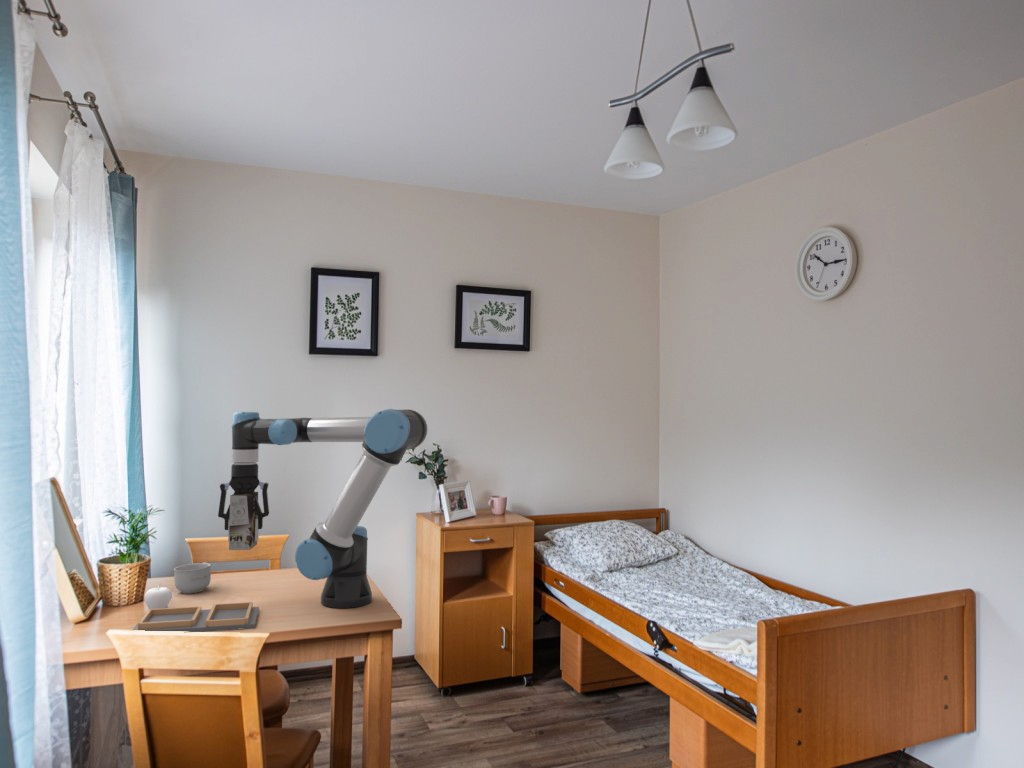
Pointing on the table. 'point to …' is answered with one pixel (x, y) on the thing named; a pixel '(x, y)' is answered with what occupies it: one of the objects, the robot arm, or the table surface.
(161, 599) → the plain white apple
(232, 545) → the coffee box
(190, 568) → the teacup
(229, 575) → the table surface
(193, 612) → the plate
